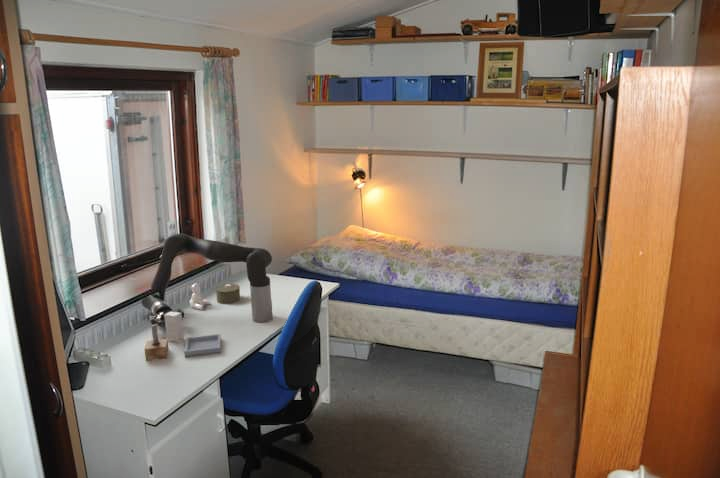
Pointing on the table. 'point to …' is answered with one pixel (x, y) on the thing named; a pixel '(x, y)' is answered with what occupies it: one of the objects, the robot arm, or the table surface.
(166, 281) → the robot arm
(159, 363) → the table surface
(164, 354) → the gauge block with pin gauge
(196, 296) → the white creature statuette
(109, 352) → the table surface
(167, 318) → the skincare box
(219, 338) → the tray
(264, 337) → the table surface
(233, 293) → the can
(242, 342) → the table surface
